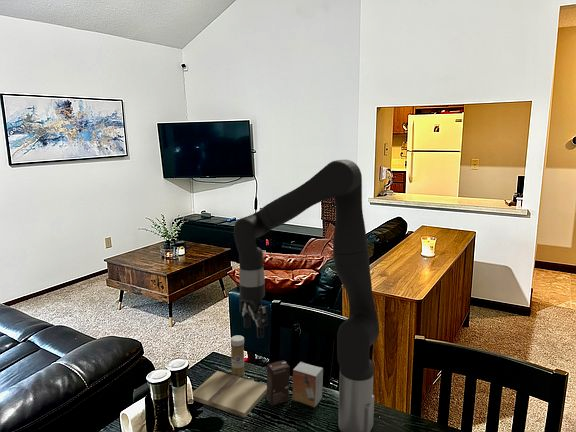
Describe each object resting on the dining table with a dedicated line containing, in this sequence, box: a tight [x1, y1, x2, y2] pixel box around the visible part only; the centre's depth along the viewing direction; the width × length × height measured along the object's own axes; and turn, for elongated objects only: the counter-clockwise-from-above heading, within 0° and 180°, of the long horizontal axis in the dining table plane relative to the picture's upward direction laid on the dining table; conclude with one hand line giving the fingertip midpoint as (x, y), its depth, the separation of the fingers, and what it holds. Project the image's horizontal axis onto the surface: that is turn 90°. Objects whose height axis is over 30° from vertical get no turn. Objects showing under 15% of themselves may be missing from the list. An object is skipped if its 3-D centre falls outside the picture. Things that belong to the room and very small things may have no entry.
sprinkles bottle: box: [230, 335, 245, 378], centre depth 143 cm, size 5×5×13 cm
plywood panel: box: [192, 370, 267, 418], centre depth 133 cm, size 20×15×2 cm
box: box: [266, 360, 291, 407], centre depth 129 cm, size 6×4×12 cm
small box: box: [291, 361, 324, 408], centre depth 130 cm, size 8×6×10 cm
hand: (253, 332), depth 128 cm, fingers open, 8 cm apart
